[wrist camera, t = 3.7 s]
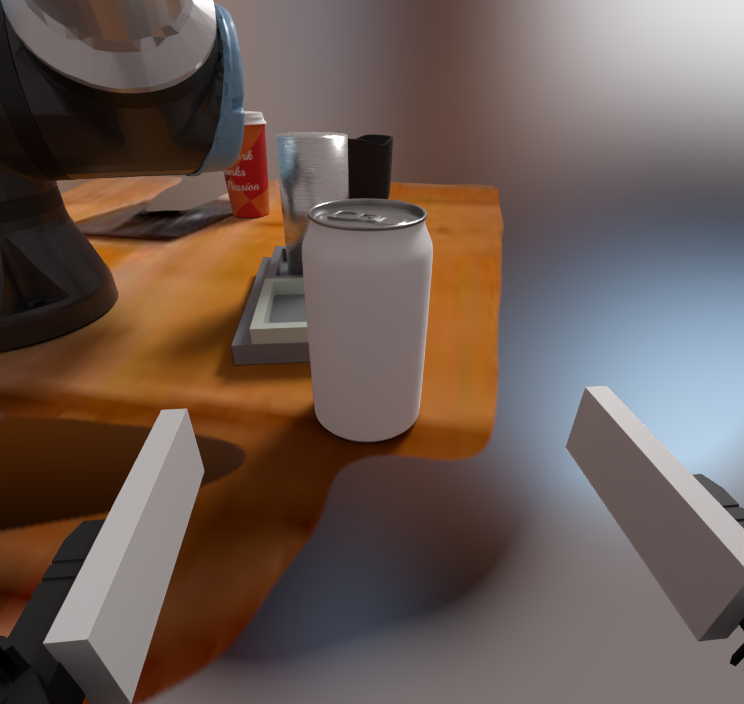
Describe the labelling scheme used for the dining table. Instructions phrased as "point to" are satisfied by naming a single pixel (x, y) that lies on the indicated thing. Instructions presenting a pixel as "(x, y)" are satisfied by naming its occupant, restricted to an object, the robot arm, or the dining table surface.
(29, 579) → the dining table surface
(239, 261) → the dining table surface
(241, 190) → the paper cup
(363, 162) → the pen holder
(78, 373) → the dining table surface
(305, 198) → the seated cylinder
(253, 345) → the pocket board
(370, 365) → the can
